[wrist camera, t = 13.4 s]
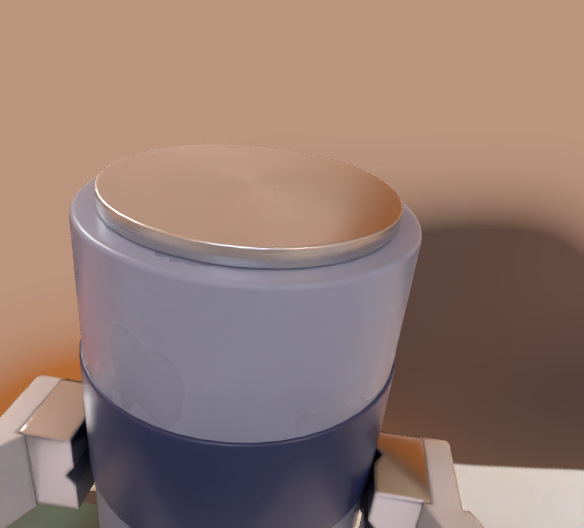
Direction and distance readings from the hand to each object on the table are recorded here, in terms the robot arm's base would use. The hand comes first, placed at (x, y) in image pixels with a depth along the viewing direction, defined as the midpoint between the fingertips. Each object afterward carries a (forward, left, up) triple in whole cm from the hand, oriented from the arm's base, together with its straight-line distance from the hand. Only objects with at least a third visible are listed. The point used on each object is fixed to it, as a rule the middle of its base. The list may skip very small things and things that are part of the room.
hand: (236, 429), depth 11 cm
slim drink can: (0, 0, -8) cm, 8 cm away
